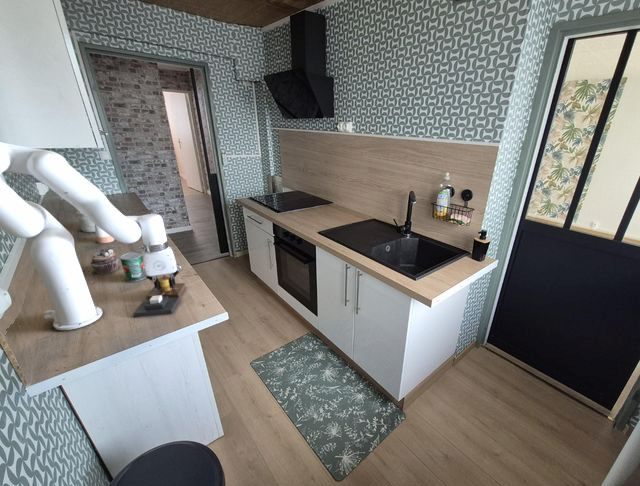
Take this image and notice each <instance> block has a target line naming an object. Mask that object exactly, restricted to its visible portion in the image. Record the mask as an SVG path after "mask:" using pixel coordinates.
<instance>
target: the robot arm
mask: <svg viewBox="0 0 640 486" xmlns="http://www.w3.org/2000/svg"><path fill="white" fill-rule="evenodd" d="M4 172H6V173H7V172H8V173H14V174H21V175H30V176H32V177H34V178H35V179H36V180H38V181H39V182H40V183H42V184H43V185H44V186H46V187H47V188H49V189H50V190H51V191H53V192H54V193H55V194H56V195H58V196H59V197H61V198H62V199H63V200H64V201H66V202H67V203H69V205H71V206H73V208H75V209H76V211H78V210H79V211H80V212H81V213H82V214H83V215H85V216H86V217H87V218H88V219H90V220H91V221H92V222H93V223H94V224H96V225H97V226H98V227H99V228H101V229H102V230H103V231H104V232H106V233H107V234H109V235H110V236H111V237H113V238H114V240H115V241H117V242H119V243H121V244H133V243H136V242H137V241H139V240H140V238H141V240H142V244H140V245H138V247H139V250H141V249H142V250H143V251H142V254H143V263H144V270H143V271H142V273H141V277H145V279H148V280H150V281H152V282H153V284H154V286H155V288H157V290H160V286H159V282H158V279H159V278H158V276H165V275H168V276H169V277H170V283H171V288H174V285H175V284H176V279H175V278H176V276H177V275H178V274H179V273H181V272H182V271H183V270H184V268H183V266H181V265H180V264H179V263H178V262H177V260H176V257H175V255H174V252H173V249H172V247H171V246H169V243H168V237H167V233H166V229H165V223H164V220H163V217H162V216H161V214H157V213H147V214H143V215H124V214H123V213H122V212H121V211H120V210H119V209H117V208H116V206H114V205H113V204H112V203H111V202H110V200H109V199H108V198H107V196H106V195H105V194H104V193H103V192H102V190H100V189H99V187H97V186H96V185H94V184H93V183H92V182H90V181H89V180H88V179H87V178H86V177H85V176H83V175H82V174H81V173H80V172H79V171H78V170H77V169H75V168H74V167H72V165H70V164H69V163H68V161H67V159H66V158H65V157H64V156H63V155H61V154H60V153H58V152H56V151H53V150H47V149H42V148H35V147H31V146H30V147H29V146H23V145H18V144H12V143H7V142H2V141H0V230H1V231H2V232H4V233H5V234H7V235H9V236H10V237H11V236H12V237H14V238H19V239H26V240H27V241H28V243H30V244H31V245H30V248H29V249H30V250H29V255H30V260H31V262H32V263H33V265H34V267H35V269H36V271H37V272H38V273H37V274H39V277H40V279H41V281H42V284H43V287H44V288H45V291H46V293H47V296H48V298H49V300H50V303H51V306H52V308H53V309H48V310H45V311H44V314H43V315H44V316H43V318H44V320H52V319H53V322H52V326H53V328H54V329H55V330H56V331H57V330H58V331H71V330H76V329H80V328H84V327H86V326H88V325H91V324H93V323H94V322H96V321H97V320H99V319H100V318H101V317H102V315H103V309H102V308H101V307H99V306H95V304H94V301H93V298H92V296H91V292H90V289H89V286H88V284H87V281H86V278H85V275H84V272H83V269H82V266H81V263H80V261H79V259H78V256H77V253H76V249H75V239H74V236H73V235H72V234H71V233H70V231H69V230H68V229H67V228H66V227H64V225H63V224H62V223H61V222H59V221H58V220H57V219H56V218H55V217H54V216H53V215H52V214H51V213H50V212H49V211H48V210H47V209H46V208H45V207H44V206H42V205H41V204H38V203H37V202H34V201H32V200H31V201H30V200H24V198H22V197H21V196H20V195H19V194H18V193H17V192H16V191H15V190H14V189H13V188H11V187H10V186H9V185H8V184H7V183H5V182H4V180H2V177H1V175H2V174H3V173H4Z"/></svg>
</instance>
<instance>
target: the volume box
mask: <svg viewBox="0 0 640 486" xmlns="http://www.w3.org/2000/svg"><path fill="white" fill-rule="evenodd" d="M186 288H187V287H186V283H185V282H182V283H181V282H179V283H175V285H174V288H172V289H171V290H170V291H167V292H162V291H161V290H157V288H155V285H154V286H153V288H152V289H151V290H150V291H149V293H148V294H147V295H146V296H145V297H146V300H149V299H150V297H152V296H158V295H162V296H168V298H174V297H179V300H180V298H181V297H182V295H183V293H184V292H185V290H186Z"/></svg>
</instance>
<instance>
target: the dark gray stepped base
mask: <svg viewBox="0 0 640 486" xmlns="http://www.w3.org/2000/svg"><path fill="white" fill-rule="evenodd" d="M150 299H151V297H150ZM150 299H149V300H150ZM149 300H147V299H144V300H143V301H142V302H141V303H140V304H139V306H138V307H137V309H136V310H135V311H134V312H133V316H134V318H142V317H151V316H162V315H171V314H173V313H174V311H175V309H176V308H177V306H178V305H179V303H180V301H181V300H180V299H179V297H174V298H168V296H162V301H161V302H160V303H154V304H150V301H149Z"/></svg>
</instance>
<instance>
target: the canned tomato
mask: <svg viewBox="0 0 640 486" xmlns="http://www.w3.org/2000/svg"><path fill="white" fill-rule="evenodd" d="M119 259H120V262H121V263H120V264H121V266H122V270H123V273H124V277H125V281H127V282H130V283H133V282H139V281H143V280H144V279H146V278H145V277H141V273H142V271H143V270H144V263H143V252H142V251H131V252H128V253H123V254H122V255H120V256H119Z"/></svg>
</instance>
